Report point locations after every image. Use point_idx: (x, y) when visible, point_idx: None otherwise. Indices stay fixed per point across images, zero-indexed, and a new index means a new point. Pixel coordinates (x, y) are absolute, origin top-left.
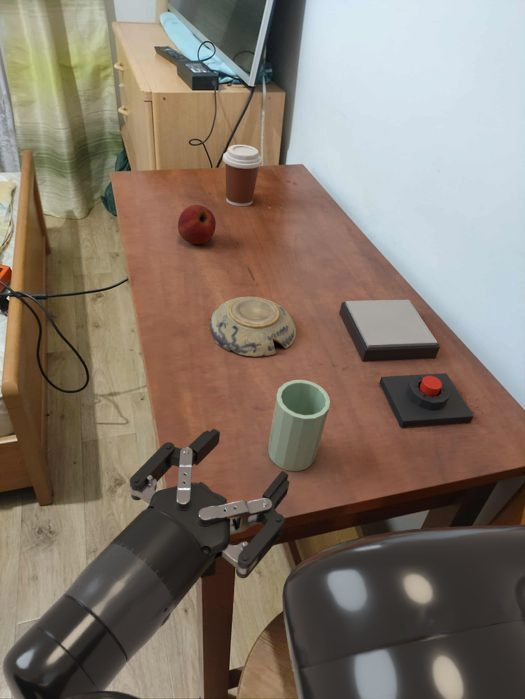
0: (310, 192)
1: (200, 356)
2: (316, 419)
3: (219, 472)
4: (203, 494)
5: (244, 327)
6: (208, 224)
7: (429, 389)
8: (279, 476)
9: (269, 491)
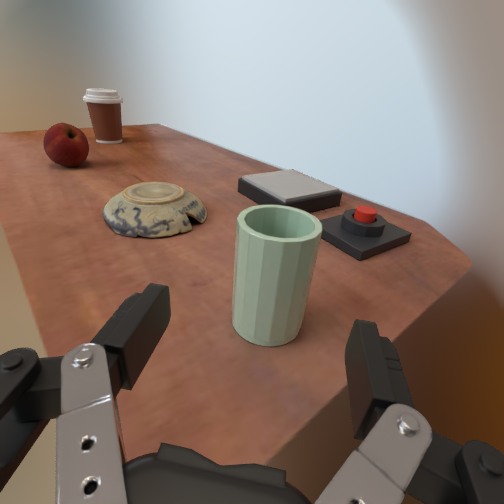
0: (171, 134)
1: (98, 249)
2: (316, 240)
3: (174, 389)
4: (192, 498)
5: (148, 206)
6: (79, 140)
7: (369, 215)
8: (365, 332)
9: (380, 380)
